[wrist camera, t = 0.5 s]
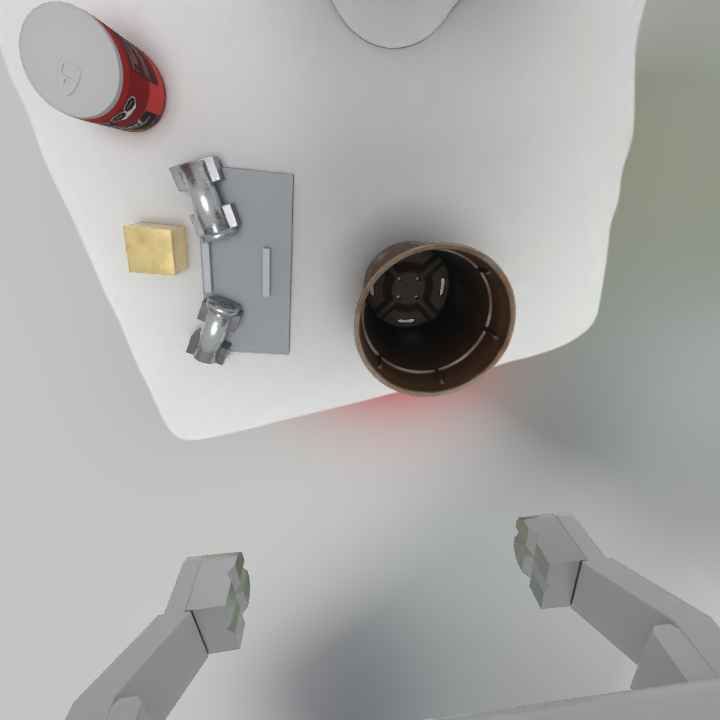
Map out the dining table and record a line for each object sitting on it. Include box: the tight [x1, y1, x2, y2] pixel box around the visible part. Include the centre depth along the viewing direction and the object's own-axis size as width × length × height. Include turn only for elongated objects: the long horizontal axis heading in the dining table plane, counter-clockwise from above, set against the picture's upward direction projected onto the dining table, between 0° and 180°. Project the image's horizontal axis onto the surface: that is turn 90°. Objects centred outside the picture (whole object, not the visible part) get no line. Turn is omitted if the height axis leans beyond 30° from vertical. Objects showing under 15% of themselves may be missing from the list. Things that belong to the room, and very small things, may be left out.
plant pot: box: [354, 242, 516, 397], centre depth 46 cm, size 16×16×16 cm
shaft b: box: [186, 296, 244, 365], centre depth 50 cm, size 8×5×4 cm, turn 154°
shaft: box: [169, 156, 242, 243], centre depth 44 cm, size 8×5×4 cm, turn 14°
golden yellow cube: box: [123, 222, 188, 275], centre depth 47 cm, size 5×5×5 cm
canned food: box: [19, 2, 165, 132], centre depth 37 cm, size 8×8×11 cm
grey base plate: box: [200, 167, 293, 355], centre depth 50 cm, size 23×11×2 cm, turn 174°
